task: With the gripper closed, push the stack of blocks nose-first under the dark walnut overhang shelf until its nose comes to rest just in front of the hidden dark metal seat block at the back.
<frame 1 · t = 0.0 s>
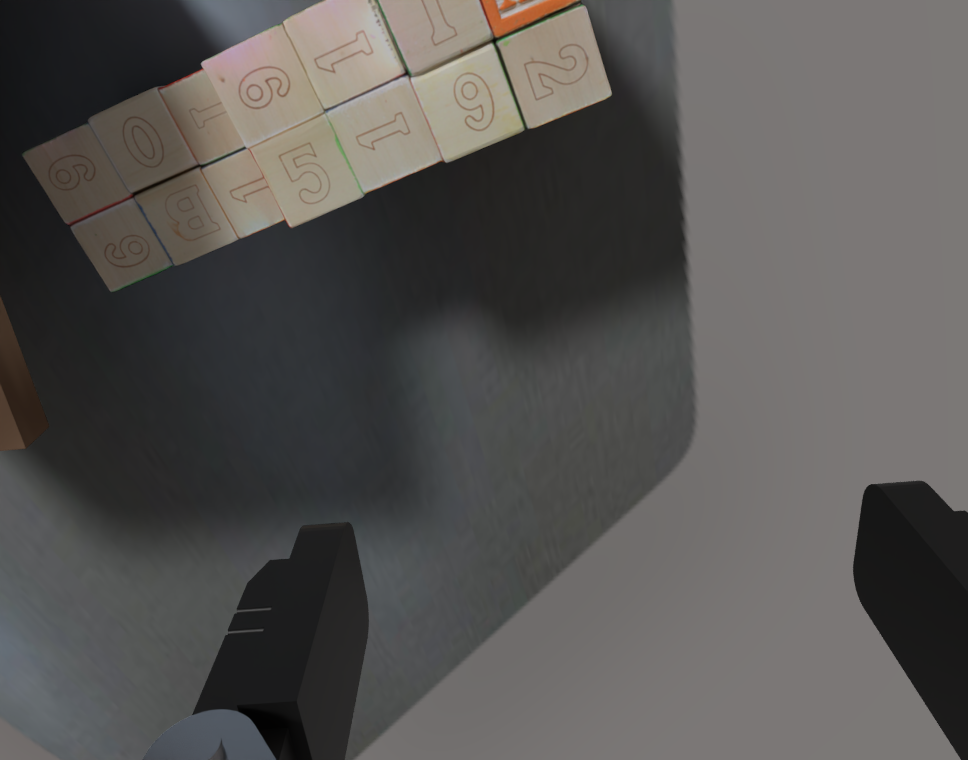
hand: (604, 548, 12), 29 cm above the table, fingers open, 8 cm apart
stack of blocks: (346, 96, 37), on the table
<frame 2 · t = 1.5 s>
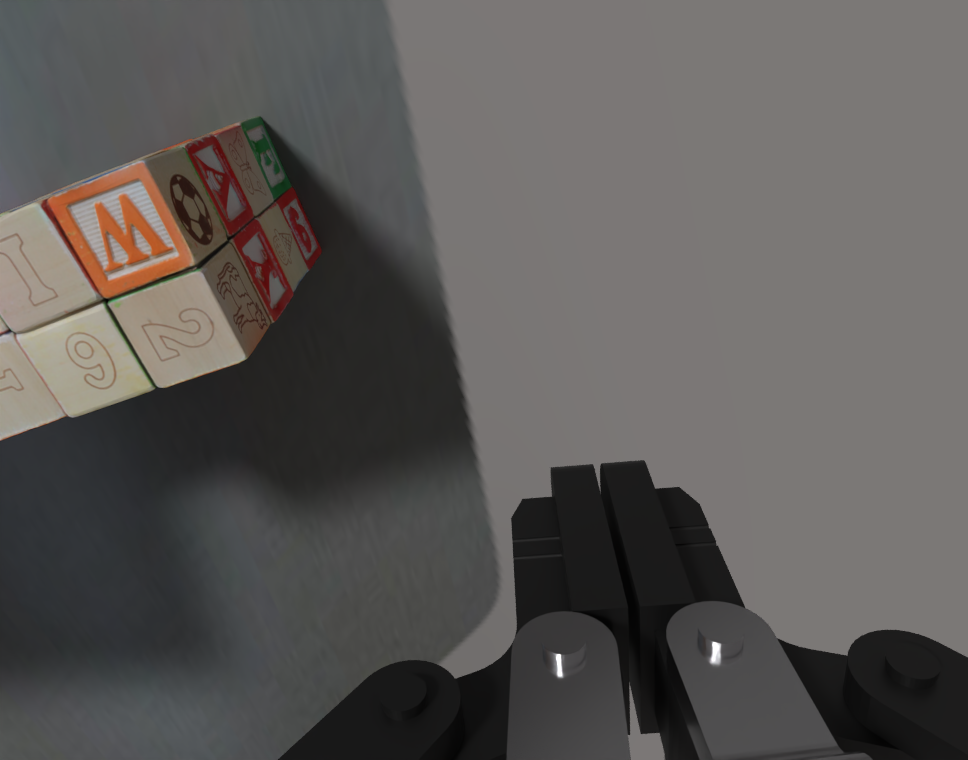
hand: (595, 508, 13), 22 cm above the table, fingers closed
stack of blocks: (79, 262, 34), on the table
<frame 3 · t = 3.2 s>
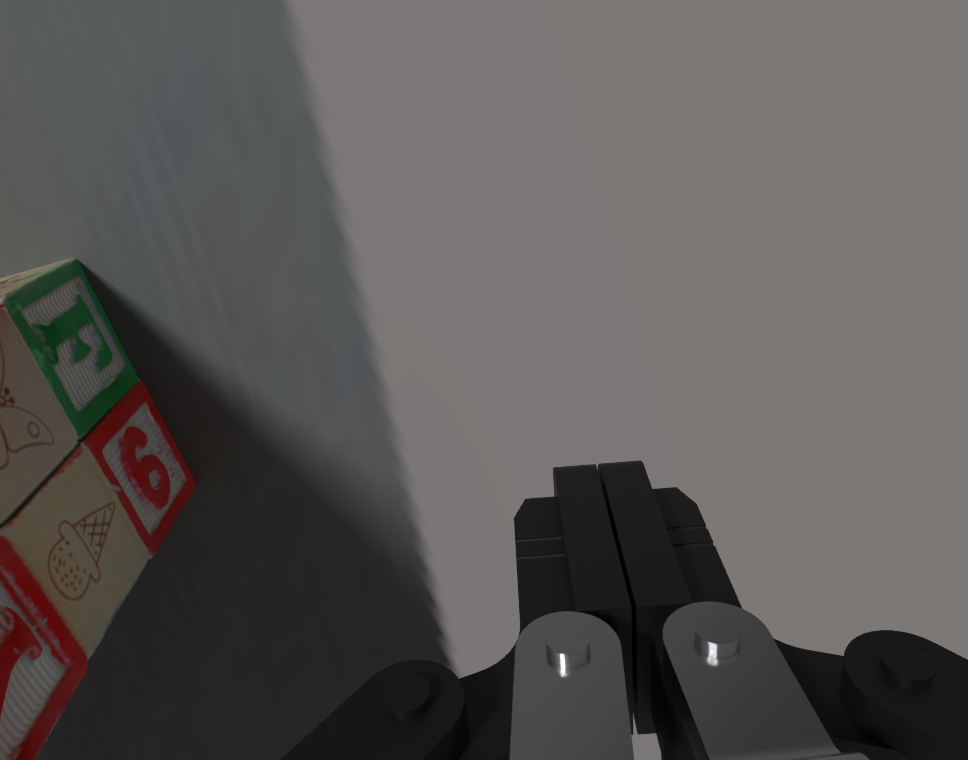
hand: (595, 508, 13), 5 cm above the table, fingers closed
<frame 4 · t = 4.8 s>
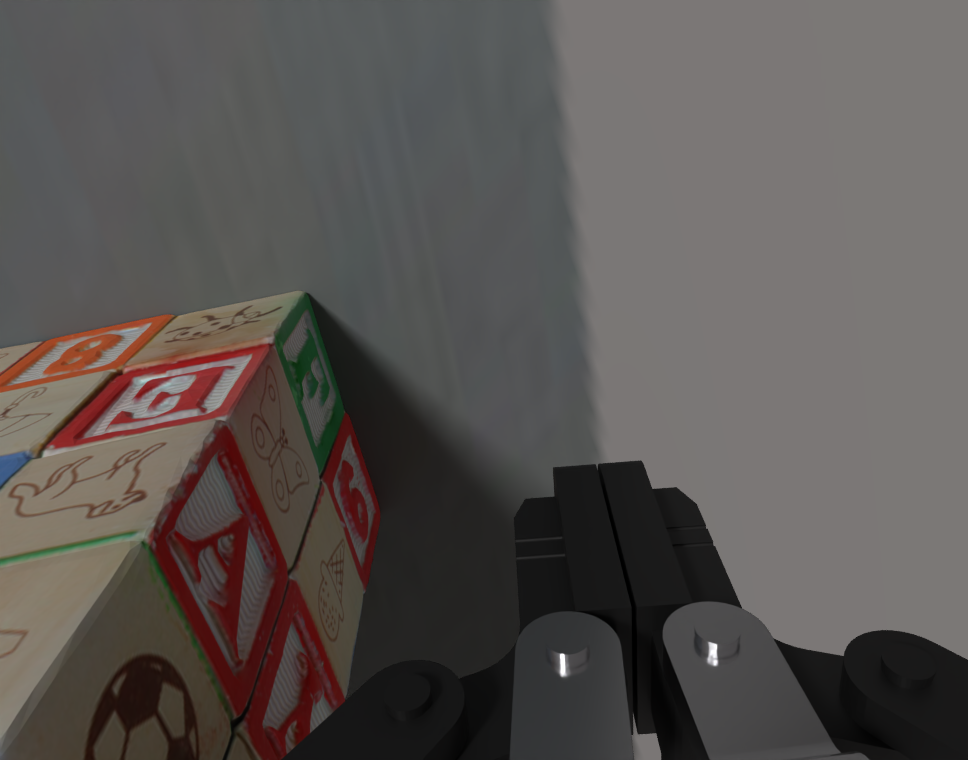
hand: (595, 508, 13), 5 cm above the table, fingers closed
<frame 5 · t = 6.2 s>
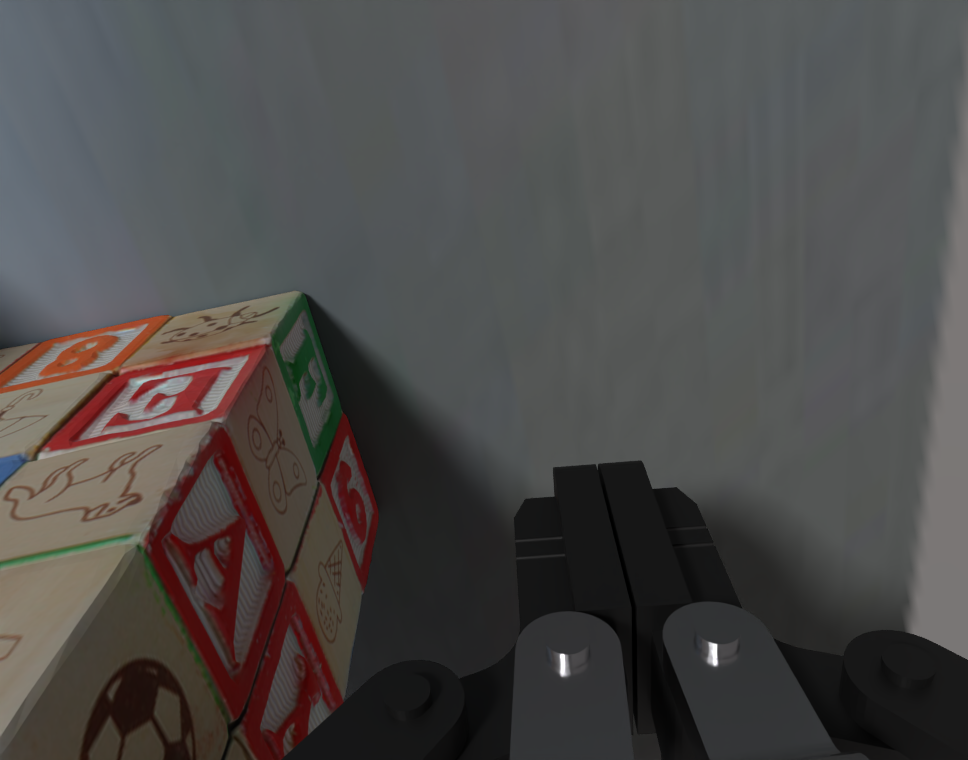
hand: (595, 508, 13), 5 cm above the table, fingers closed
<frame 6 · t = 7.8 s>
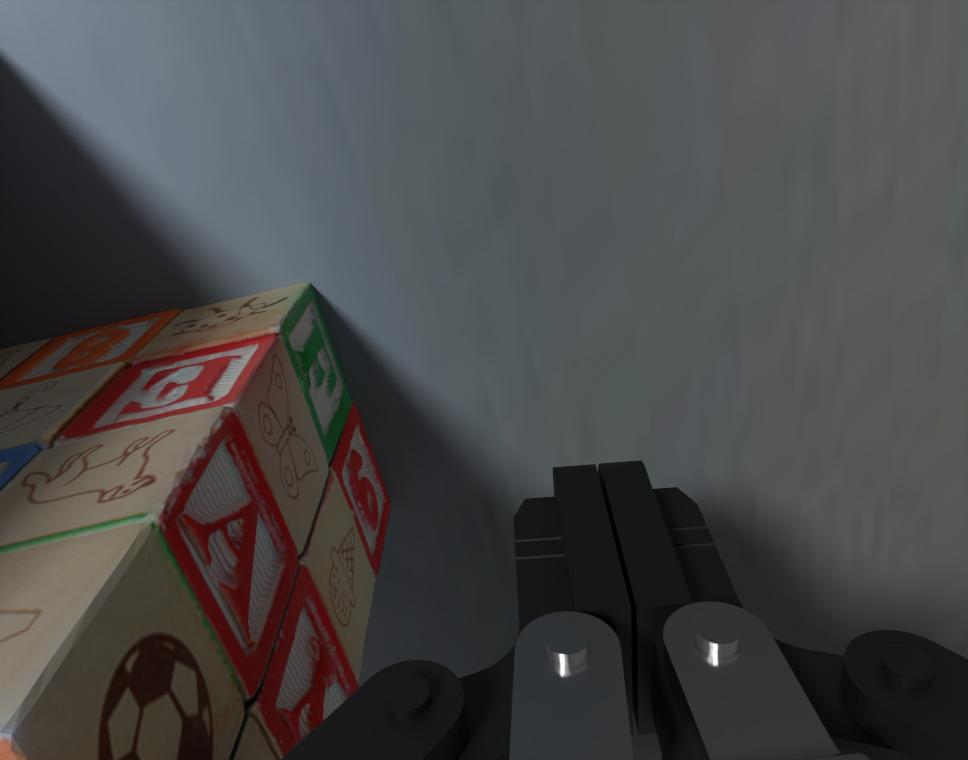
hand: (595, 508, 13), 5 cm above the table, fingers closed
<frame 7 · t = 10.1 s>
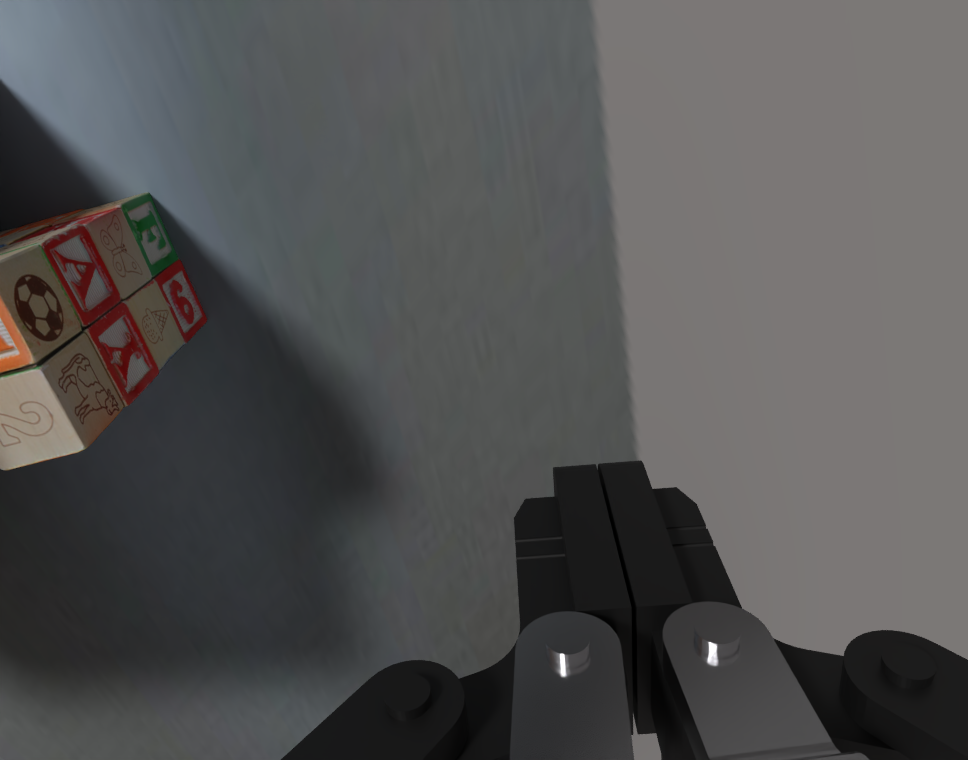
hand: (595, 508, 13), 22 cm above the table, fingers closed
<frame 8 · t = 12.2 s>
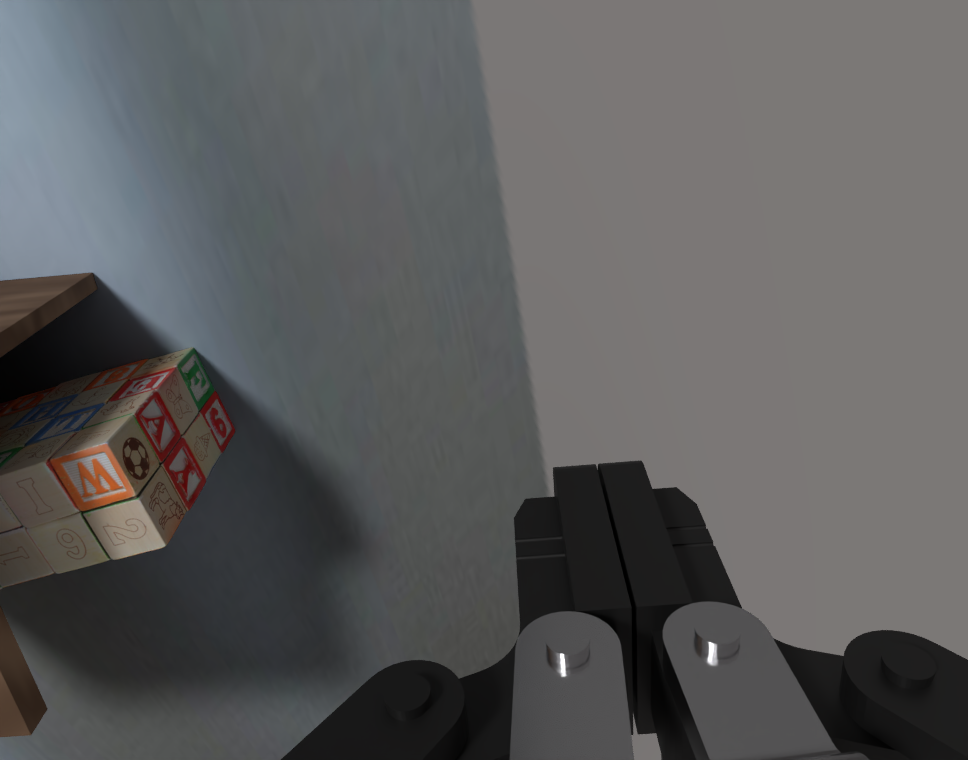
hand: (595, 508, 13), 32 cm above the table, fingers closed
stack of blocks: (66, 429, 49), on the table
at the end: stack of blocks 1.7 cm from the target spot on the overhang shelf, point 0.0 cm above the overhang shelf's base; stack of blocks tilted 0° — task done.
